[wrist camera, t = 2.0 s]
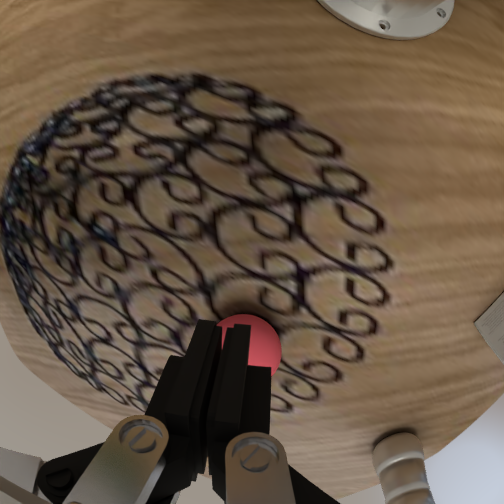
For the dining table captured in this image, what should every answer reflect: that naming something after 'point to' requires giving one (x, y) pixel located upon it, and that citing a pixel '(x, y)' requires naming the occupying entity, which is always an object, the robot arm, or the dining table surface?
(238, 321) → the ball
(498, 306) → the skincare box
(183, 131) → the dining table surface
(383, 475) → the plastic bottle
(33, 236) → the dining table surface
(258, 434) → the robot arm
